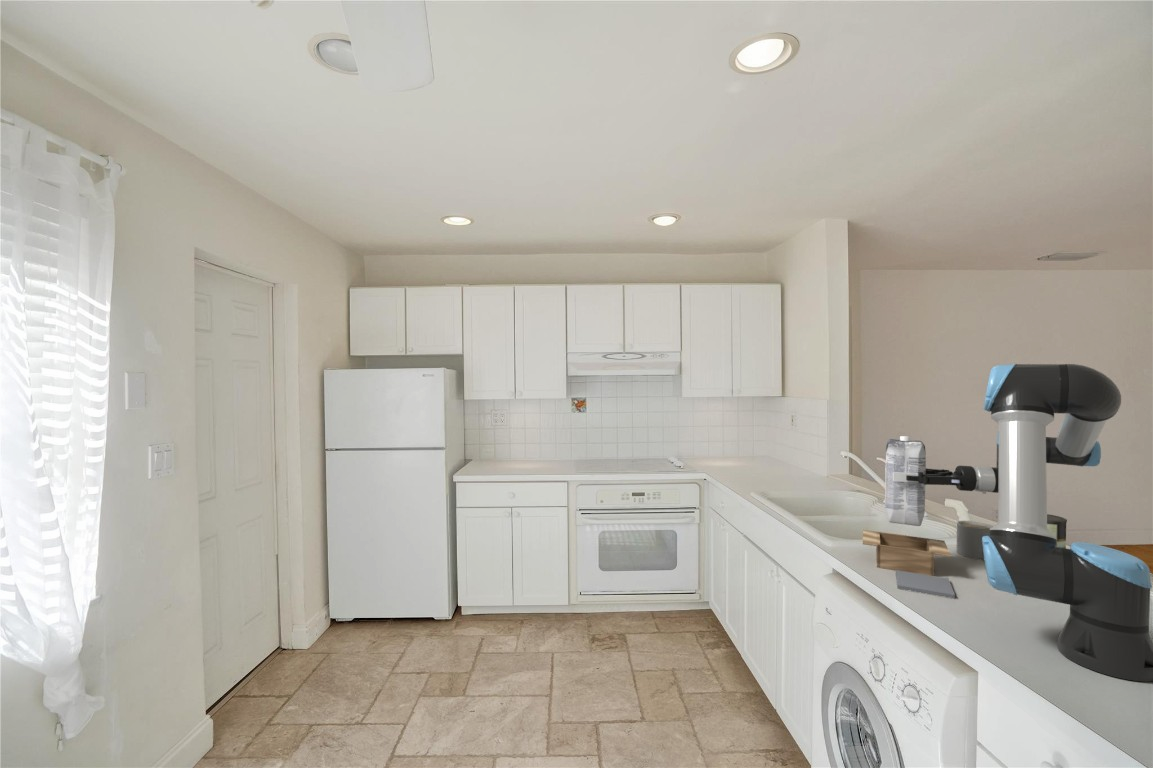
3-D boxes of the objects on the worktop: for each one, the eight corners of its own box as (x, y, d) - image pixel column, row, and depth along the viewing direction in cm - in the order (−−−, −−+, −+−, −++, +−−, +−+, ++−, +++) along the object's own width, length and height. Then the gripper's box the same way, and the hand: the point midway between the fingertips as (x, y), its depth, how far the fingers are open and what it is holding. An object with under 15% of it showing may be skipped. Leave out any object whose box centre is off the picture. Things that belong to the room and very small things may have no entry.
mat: (954, 598, 140) (954, 594, 140) (897, 588, 146) (897, 585, 146) (948, 581, 151) (948, 578, 151) (895, 573, 158) (895, 569, 158)
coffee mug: (959, 556, 172) (959, 526, 172) (954, 547, 181) (954, 519, 181) (1011, 563, 166) (1011, 532, 166) (1003, 554, 175) (1003, 524, 175)
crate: (950, 579, 153) (950, 555, 153) (862, 565, 164) (862, 542, 164) (943, 562, 167) (944, 540, 167) (862, 550, 178) (863, 529, 178)
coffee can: (1051, 555, 174) (1052, 513, 173) (1074, 567, 164) (1075, 522, 163) (1015, 553, 176) (1016, 511, 175) (1036, 564, 166) (1037, 520, 165)
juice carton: (925, 528, 159) (926, 439, 158) (884, 523, 164) (886, 436, 164) (922, 521, 166) (924, 436, 166) (884, 516, 172) (886, 434, 171)
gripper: (988, 499, 149) (897, 492, 156) (959, 483, 170) (881, 478, 177) (988, 472, 148) (898, 467, 156) (960, 460, 170) (881, 456, 177)
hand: (889, 473), depth 166 cm, fingers closed on juice carton, 10 cm apart
